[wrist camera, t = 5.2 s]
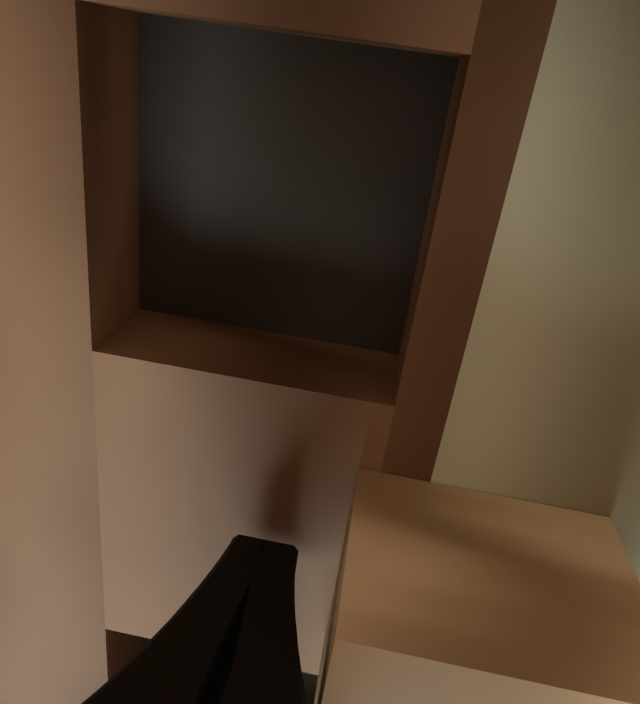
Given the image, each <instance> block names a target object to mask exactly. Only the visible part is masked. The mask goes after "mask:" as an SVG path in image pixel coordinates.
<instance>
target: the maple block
mask: <svg viewBox="0 0 640 704" xmlns="http://www.w3.org/2000/svg"><path fill="white" fill-rule="evenodd" d="M314 704H640V582H639V580H638V578H637V575H636V573H635V571H634V568H633V566H632V564H631V562H630V559H629V557H628V555H627V553H626V550H625V548H624V546H623V544H622V541H621V539H620V537H619V535H618V532H617V530H616V528H615V525H614V523H613V521H612V519H611V517H606V516H601V515H595V514H590V513H585V512H580V511H575V510H570V509H565V508H560V507H555V506H550V505H545V504H539V503H534V502H529V501H524V500H519V499H514V498H509V497H504V496H499V495H494V494H489V493H483V492H478V491H473V490H468V489H463V488H458V487H453V486H448V485H443V484H438V483H433V482H428V481H422V480H417V479H412V478H407V477H402V476H397V475H392V474H387V473H382V472H377V471H372V470H366V469H361V468H358V472H357V477H356V482H355V487H354V492H353V497H352V502H351V507H350V512H349V517H348V522H347V527H346V532H345V537H344V541H343V546H342V551H341V556H340V561H339V566H338V571H337V576H336V581H335V586H334V591H333V596H332V601H331V606H330V611H329V616H328V621H327V626H326V631H325V636H324V642H323V648H322V655H321V661H320V668H319V674H318V680H317V687H316V693H315V700H314Z"/></svg>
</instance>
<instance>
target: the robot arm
mask: <svg viewBox="0 0 640 704" xmlns="http://www.w3.org/2000/svg"><path fill="white" fill-rule="evenodd" d="M298 552H299V551H298V550H297V548H296V547H295V546H294V545H289V544H284V543H279V542H274V541H270V540H265V539H260V538H255V537H250V536H245V535H240V534H239V535H237V536H235V537H234V538H233V539H232V541H231V542H230V544H229V546H228V547H227V549H226V550H225V551H224V553H223V554H222V556H221V557H220V559H219V560H218V561H217V563H216V564H215V565H214V567H213V568H212V569H211V571H210V572H209V573H208V575H207V576H206V577H205V578H204V580H203V581H202V582H201V583H200V585H199V586H198V587H197V588H196V589H195V591H194V592H193V593H192V594H191V595H190V597H189V598H188V599H187V600H186V601H185V602H184V604H183V605H182V606H181V607H180V608H179V610H178V611H177V612H176V613H175V614H174V615H173V616H172V617H171V618H170V620H169V621H168V622H167V623H166V624H165V625H164V626H163V627H162V628H161V629H160V630H159V631H158V632H157V633H156V634H155V635H154V636H153V637H152V638H151V640H150V641H149V642H148V643H147V644H146V645H145V646H144V647H143V648H142V649H141V650H140V651H139V652H138V653H137V654H136V655H135V656H134V657H133V658H132V659H131V660H130V661H129V662H128V663H126V664H125V665H124V666H123V667H122V668H121V669H120V670H119V671H118V672H117V673H116V674H115V675H114V676H112V677H111V678H110V679H109V680H108V681H107V682H106V683H105V684H104V685H103V686H101V687H100V688H99V689H98V690H97V691H96V692H94V693H93V694H92V695H91V696H90V697H89V698H87V699H86V700H85V701H84V702H83V703H81V704H307V700H306V695H305V689H304V683H303V677H302V670H301V664H300V656H299V648H298V638H297V627H296V616H295V572H296V565H297V558H298Z"/></svg>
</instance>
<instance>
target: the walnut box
mask: <svg viewBox="0 0 640 704" xmlns="http://www.w3.org/2000/svg"><path fill="white" fill-rule="evenodd" d="M358 468H361V469H366V470H372V471H377V472H382V473H387V474H392V475H397V476H402V477H407V478H412V479H417V480H422V481H428V482H433V483H438V484H443V485H448V486H453V487H458V488H463V489H468V490H473V491H478V492H483V493H489V494H494V495H499V496H504V497H509V498H514V499H519V500H524V501H529V502H534V503H539V504H545V505H550V506H555V507H560V508H565V509H570V510H575V511H580V512H585V513H590V514H595V515H601V516H606V517H611V519H612V521H613V523H614V525H615V528H616V530H617V532H618V535H619V537H620V539H621V541H622V544H623V546H624V548H625V550H626V553H627V555H628V557H629V559H630V562H631V564H632V566H633V568H634V571H635V573H636V575H637V578H638V580H639V582H640V0H0V704H81V703H83V702H84V701H85V700H86V699H87V698H89V697H90V696H91V695H92V694H93V693H94V692H96V691H97V690H98V689H99V688H100V687H101V686H103V685H104V684H105V683H106V682H107V681H108V680H109V679H110V678H111V677H112V676H114V675H115V674H116V673H117V672H118V671H119V670H120V669H121V668H122V667H123V666H124V665H125V664H126V663H128V662H129V661H130V660H131V659H132V658H133V657H134V656H135V655H136V654H137V653H138V652H139V651H140V650H141V649H142V648H143V647H144V646H145V645H146V644H147V643H148V642H149V641H150V640H151V638H152V637H153V636H154V635H155V634H156V633H157V632H158V631H159V630H160V629H161V628H162V627H163V626H164V625H165V624H166V623H167V622H168V621H169V620H170V618H171V617H172V616H173V615H174V614H175V613H176V612H177V611H178V610H179V608H180V607H181V606H182V605H183V604H184V602H185V601H186V600H187V599H188V598H189V597H190V595H191V594H192V593H193V592H194V591H195V589H196V588H197V587H198V586H199V585H200V583H201V582H202V581H203V580H204V578H205V577H206V576H207V575H208V573H209V572H210V571H211V569H212V568H213V567H214V565H215V564H216V563H217V561H218V560H219V559H220V557H221V556H222V554H223V553H224V551H225V550H226V549H227V547H228V546H229V544H230V542H231V541H232V539H233V538H234V537H235V536H237V535H239V534H240V535H245V536H250V537H255V538H260V539H265V540H270V541H274V542H279V543H284V544H289V545H294V546H295V547H296V548H297V550H298V551H299V552H298V558H297V565H296V572H295V616H296V627H297V638H298V648H299V656H300V664H301V670H302V677H303V683H304V689H305V695H306V700H307V704H314V700H315V693H316V687H317V680H318V674H319V668H320V661H321V655H322V648H323V642H324V636H325V631H326V626H327V621H328V616H329V611H330V606H331V601H332V596H333V591H334V586H335V581H336V576H337V571H338V566H339V561H340V556H341V551H342V546H343V541H344V537H345V532H346V527H347V522H348V517H349V512H350V507H351V502H352V497H353V492H354V487H355V482H356V477H357V472H358Z"/></svg>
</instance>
